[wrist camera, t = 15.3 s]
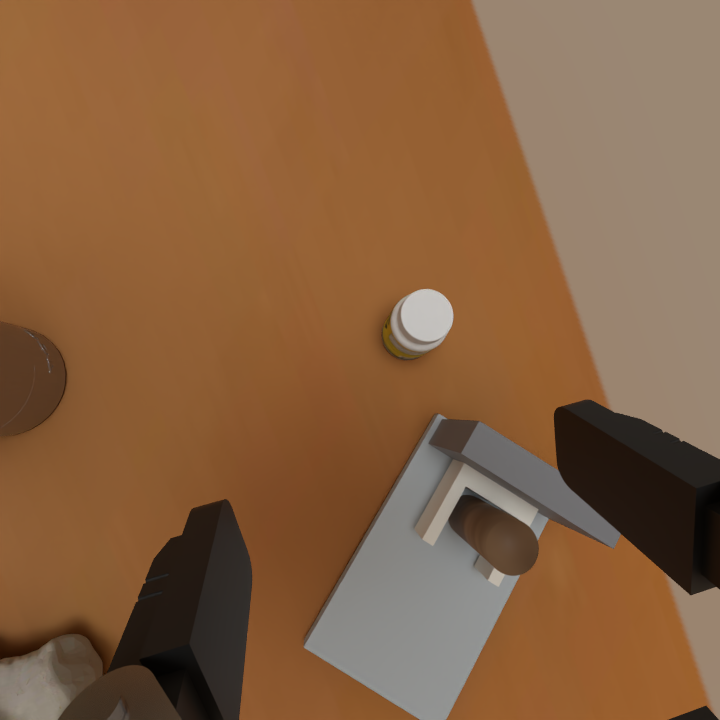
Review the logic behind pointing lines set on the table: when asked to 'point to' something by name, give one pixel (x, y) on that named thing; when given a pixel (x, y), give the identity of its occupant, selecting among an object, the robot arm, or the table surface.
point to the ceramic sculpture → (47, 678)
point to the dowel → (495, 535)
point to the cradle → (448, 497)
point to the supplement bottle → (417, 324)
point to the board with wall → (434, 573)
